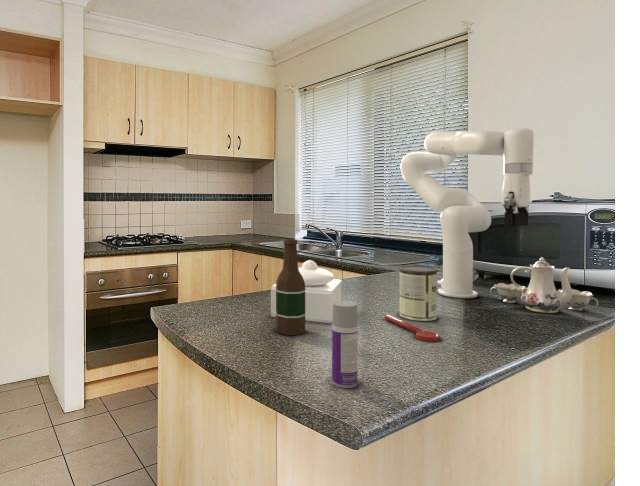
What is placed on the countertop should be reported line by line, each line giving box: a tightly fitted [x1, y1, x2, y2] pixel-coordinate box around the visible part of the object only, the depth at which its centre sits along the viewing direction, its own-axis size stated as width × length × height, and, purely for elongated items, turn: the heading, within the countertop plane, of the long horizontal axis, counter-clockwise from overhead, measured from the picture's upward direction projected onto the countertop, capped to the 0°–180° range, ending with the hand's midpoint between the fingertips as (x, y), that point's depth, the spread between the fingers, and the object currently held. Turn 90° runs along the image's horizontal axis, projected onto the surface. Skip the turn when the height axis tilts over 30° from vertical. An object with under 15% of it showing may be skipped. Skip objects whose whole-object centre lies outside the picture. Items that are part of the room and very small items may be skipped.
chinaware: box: [489, 256, 599, 314], centre depth 137 cm, size 28×17×17 cm, turn 62°
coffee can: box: [398, 265, 438, 322], centre depth 127 cm, size 10×10×14 cm
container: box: [331, 300, 359, 389], centre depth 82 cm, size 5×5×15 cm
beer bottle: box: [275, 238, 306, 336], centre depth 113 cm, size 8×8×24 cm
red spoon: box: [384, 314, 439, 342], centre depth 115 cm, size 20×5×1 cm, turn 15°
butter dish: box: [270, 259, 343, 324], centre depth 132 cm, size 18×18×16 cm
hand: (516, 226), depth 133 cm, fingers open, 9 cm apart
